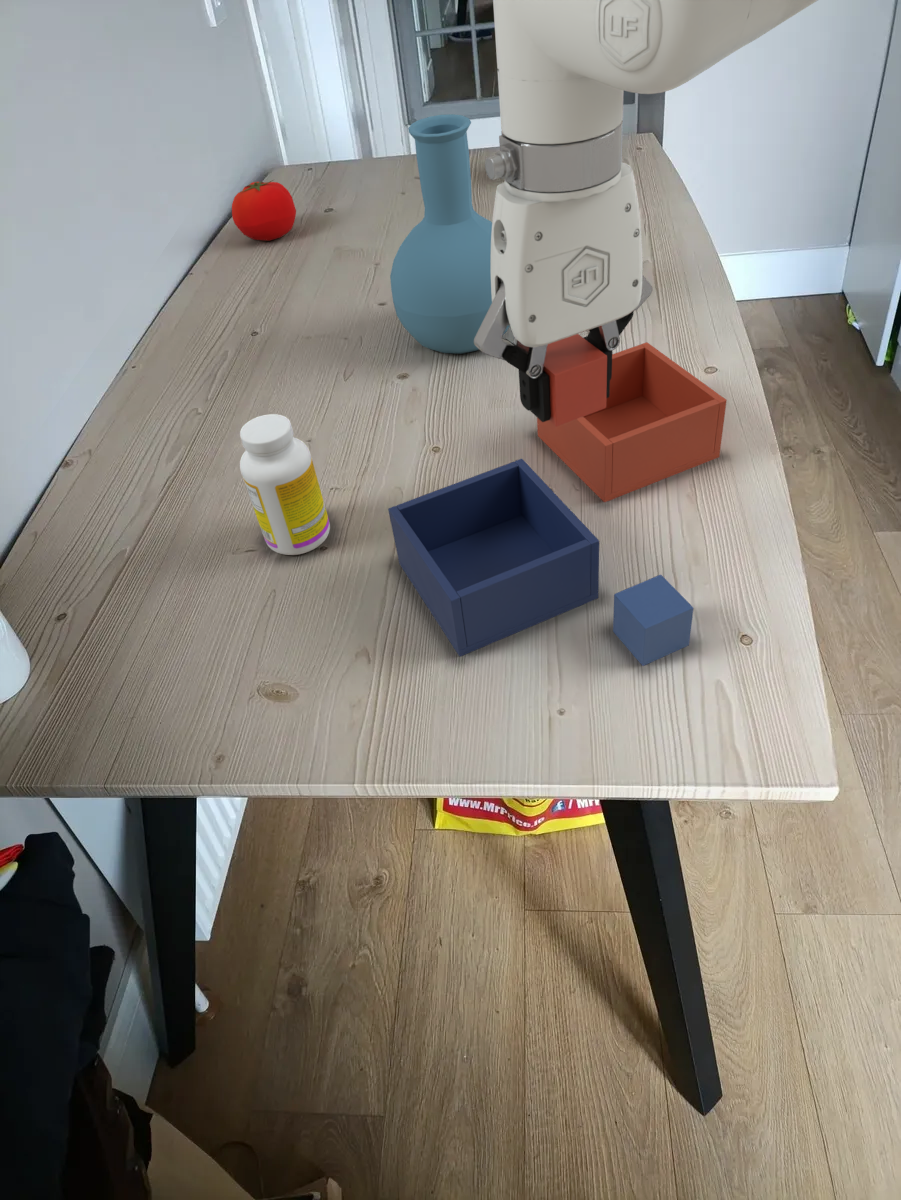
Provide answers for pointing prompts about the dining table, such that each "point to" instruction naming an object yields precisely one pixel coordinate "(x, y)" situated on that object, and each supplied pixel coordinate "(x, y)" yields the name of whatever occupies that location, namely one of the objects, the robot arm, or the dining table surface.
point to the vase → (444, 245)
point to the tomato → (264, 211)
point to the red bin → (641, 426)
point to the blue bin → (495, 555)
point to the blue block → (652, 619)
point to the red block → (575, 379)
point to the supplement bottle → (283, 486)
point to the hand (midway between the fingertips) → (566, 399)
